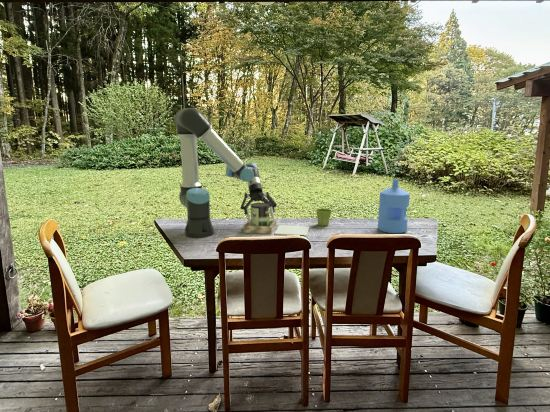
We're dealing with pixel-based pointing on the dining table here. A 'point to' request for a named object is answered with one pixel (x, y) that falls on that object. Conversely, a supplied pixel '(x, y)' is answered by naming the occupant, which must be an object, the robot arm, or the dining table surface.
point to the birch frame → (259, 228)
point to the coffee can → (260, 214)
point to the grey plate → (292, 230)
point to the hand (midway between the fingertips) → (261, 218)
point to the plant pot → (323, 216)
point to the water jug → (393, 209)
